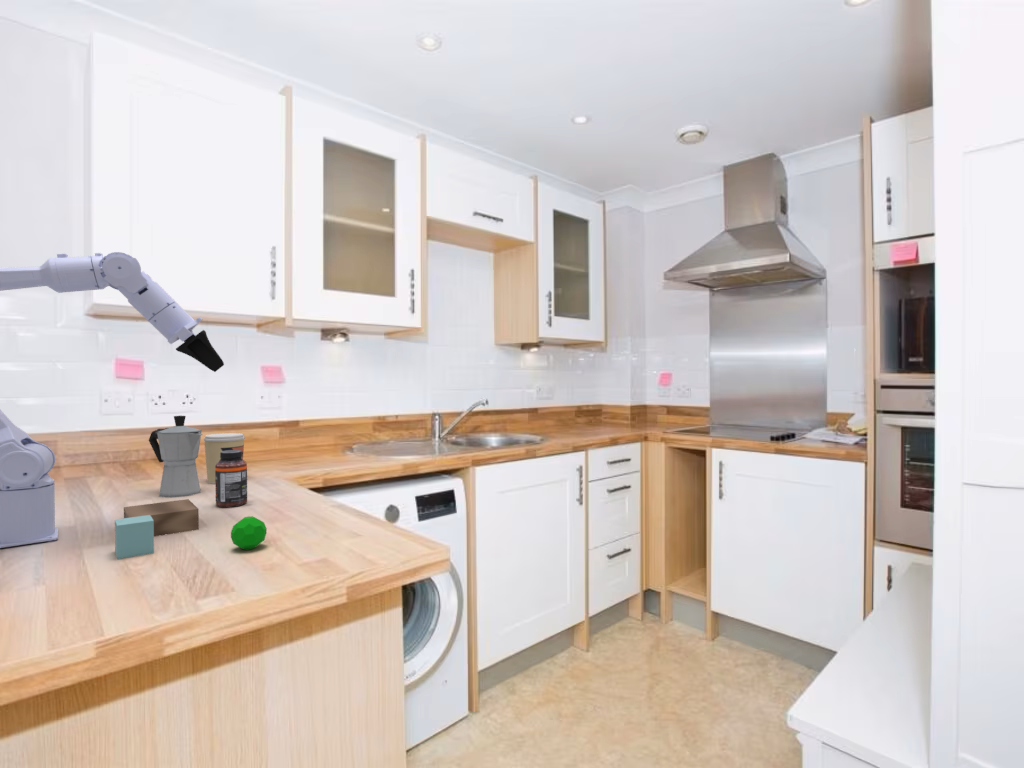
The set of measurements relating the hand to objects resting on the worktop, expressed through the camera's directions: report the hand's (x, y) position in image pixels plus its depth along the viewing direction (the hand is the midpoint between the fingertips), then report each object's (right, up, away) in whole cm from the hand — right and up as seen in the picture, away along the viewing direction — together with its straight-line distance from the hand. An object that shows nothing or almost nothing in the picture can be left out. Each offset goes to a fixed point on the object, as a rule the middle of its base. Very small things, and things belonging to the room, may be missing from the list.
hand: (219, 367), depth 104 cm
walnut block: (-6, -29, -8) cm, 31 cm away
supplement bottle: (-3, -29, +10) cm, 31 cm away
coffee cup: (-18, -28, +37) cm, 50 cm away
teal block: (-2, -29, -21) cm, 36 cm away
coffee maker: (-22, -29, +22) cm, 42 cm away
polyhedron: (+15, -29, -19) cm, 38 cm away
